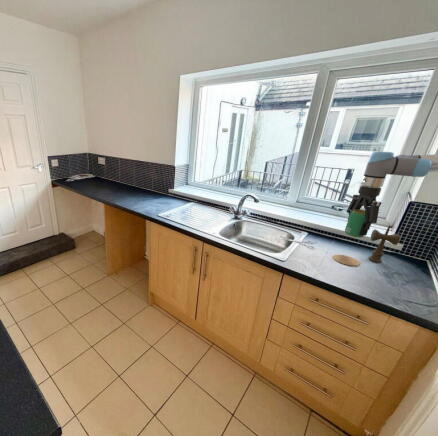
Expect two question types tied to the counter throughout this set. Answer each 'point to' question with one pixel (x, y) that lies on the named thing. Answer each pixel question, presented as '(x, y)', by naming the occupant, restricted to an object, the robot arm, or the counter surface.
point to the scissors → (302, 243)
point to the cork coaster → (346, 260)
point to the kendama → (382, 243)
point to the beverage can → (355, 223)
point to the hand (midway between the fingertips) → (355, 231)
